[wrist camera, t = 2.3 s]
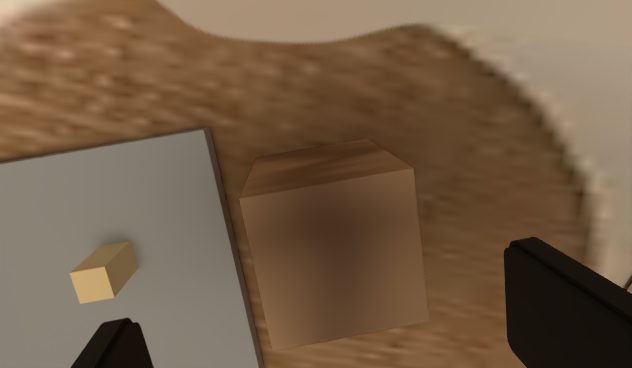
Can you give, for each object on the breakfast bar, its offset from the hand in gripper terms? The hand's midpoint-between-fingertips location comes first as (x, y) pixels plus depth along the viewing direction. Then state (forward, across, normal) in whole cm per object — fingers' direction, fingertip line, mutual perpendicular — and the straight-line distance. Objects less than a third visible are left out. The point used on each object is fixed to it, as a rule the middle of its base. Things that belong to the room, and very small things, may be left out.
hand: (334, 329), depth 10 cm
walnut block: (+12, -1, 0) cm, 12 cm away
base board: (+12, +14, +6) cm, 20 cm away
